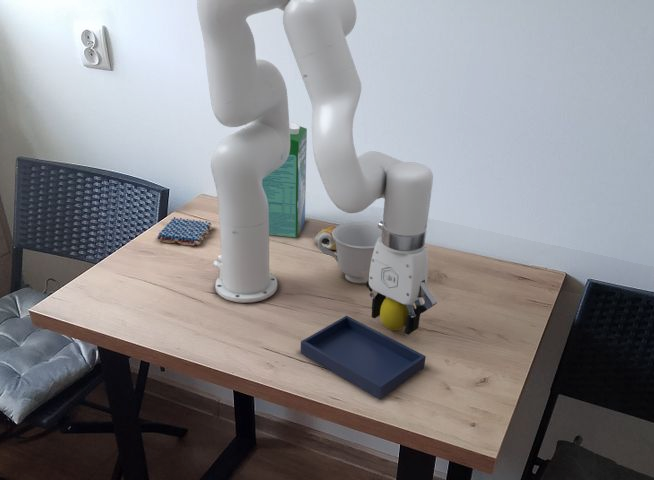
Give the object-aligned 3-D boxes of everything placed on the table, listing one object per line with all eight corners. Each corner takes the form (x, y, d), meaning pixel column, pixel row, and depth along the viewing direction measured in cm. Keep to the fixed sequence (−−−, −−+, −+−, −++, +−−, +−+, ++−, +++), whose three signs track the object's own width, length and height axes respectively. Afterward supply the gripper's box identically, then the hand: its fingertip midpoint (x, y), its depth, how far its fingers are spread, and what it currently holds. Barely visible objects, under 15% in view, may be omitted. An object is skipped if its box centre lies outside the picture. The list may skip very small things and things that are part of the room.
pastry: (341, 231, 166) (342, 216, 164) (362, 241, 162) (363, 226, 160) (312, 243, 160) (313, 228, 158) (333, 254, 156) (333, 238, 154)
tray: (300, 353, 125) (300, 341, 124) (345, 326, 132) (346, 315, 131) (379, 399, 115) (381, 386, 113) (424, 368, 122) (425, 356, 121)
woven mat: (214, 228, 166) (214, 220, 165) (198, 248, 157) (198, 240, 156) (173, 223, 168) (172, 215, 167) (155, 242, 159) (154, 234, 158)
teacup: (317, 261, 153) (318, 219, 147) (385, 264, 153) (389, 221, 147) (315, 289, 143) (317, 245, 138) (388, 292, 143) (393, 248, 137)
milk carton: (297, 238, 163) (298, 130, 148) (259, 233, 164) (257, 126, 150) (305, 221, 170) (307, 117, 155) (268, 217, 171) (267, 114, 157)
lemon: (374, 334, 130) (378, 298, 126) (383, 320, 135) (387, 283, 130) (403, 341, 129) (408, 304, 124) (411, 326, 133) (416, 290, 128)
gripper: (350, 227, 123) (345, 313, 133) (432, 260, 113) (419, 350, 124) (378, 214, 128) (371, 298, 138) (458, 246, 118) (444, 334, 128)
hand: (394, 322), depth 131 cm, fingers open, 7 cm apart
